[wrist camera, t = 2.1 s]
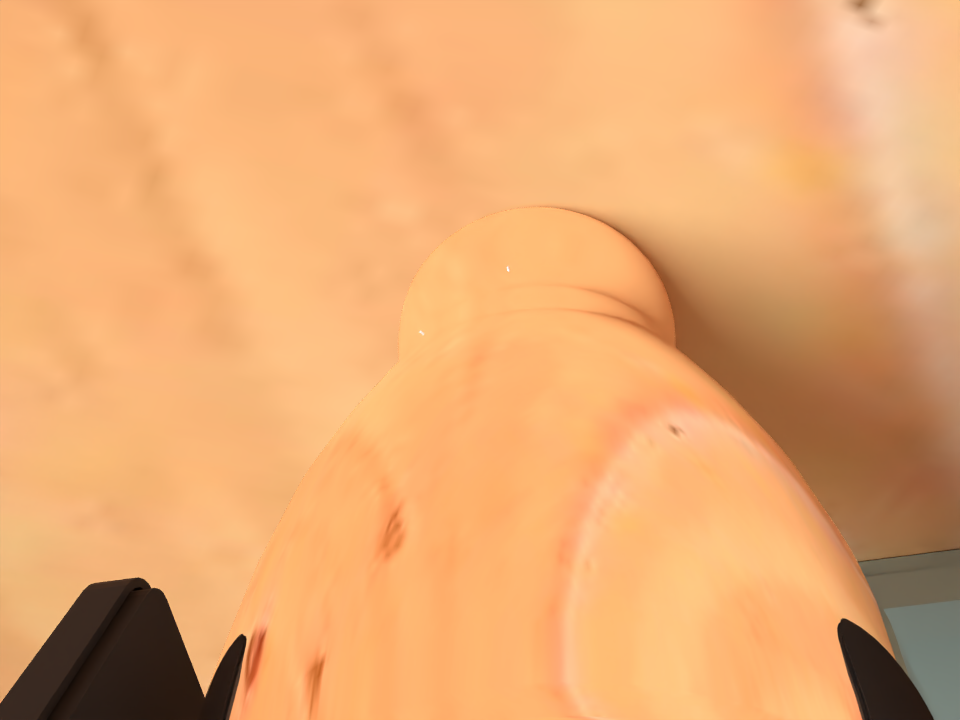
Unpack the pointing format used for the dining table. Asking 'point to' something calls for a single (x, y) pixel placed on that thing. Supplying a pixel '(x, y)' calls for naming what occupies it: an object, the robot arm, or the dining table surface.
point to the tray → (925, 619)
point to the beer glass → (555, 523)
